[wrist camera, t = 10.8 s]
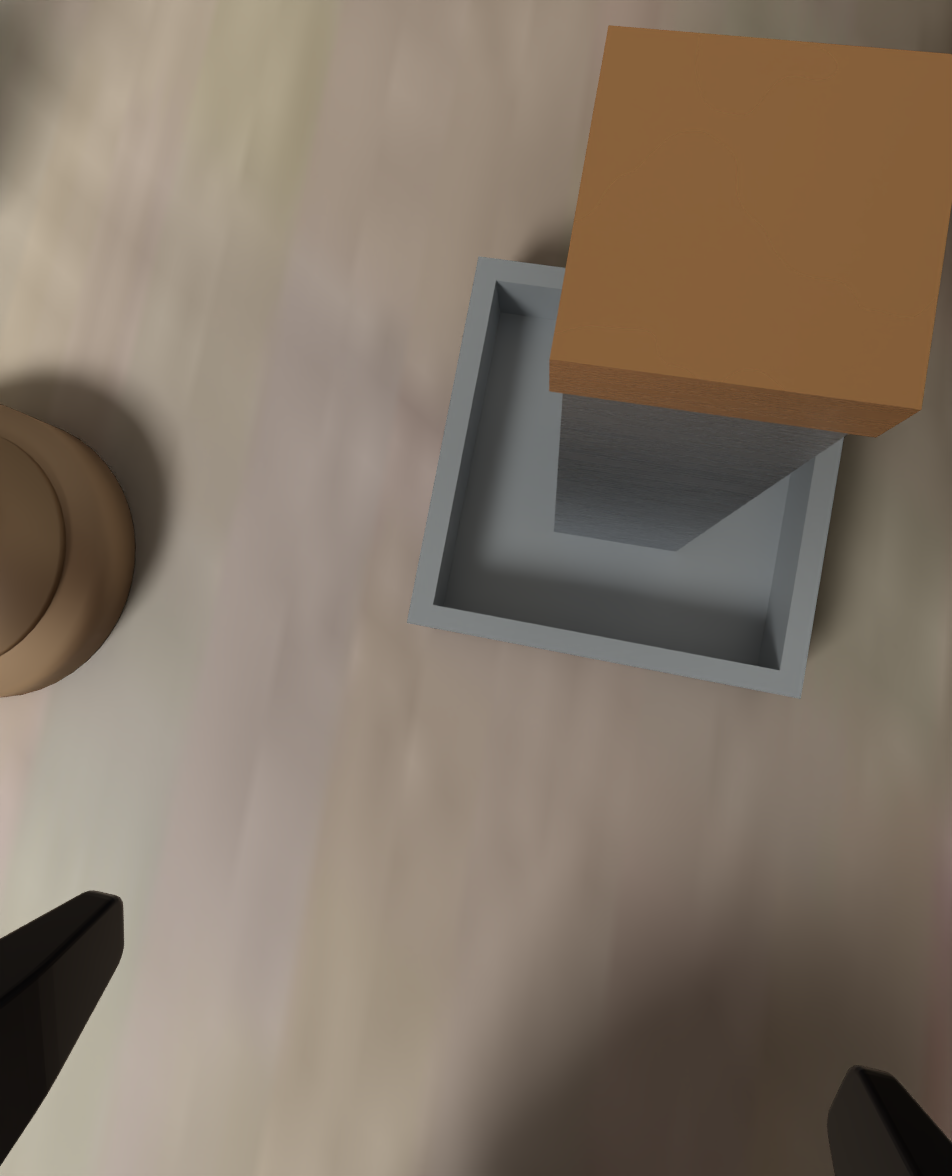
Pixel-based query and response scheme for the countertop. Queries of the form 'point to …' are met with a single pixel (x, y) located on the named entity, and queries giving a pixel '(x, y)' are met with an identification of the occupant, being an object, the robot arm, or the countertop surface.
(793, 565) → the tray
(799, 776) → the countertop surface
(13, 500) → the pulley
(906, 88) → the pin
